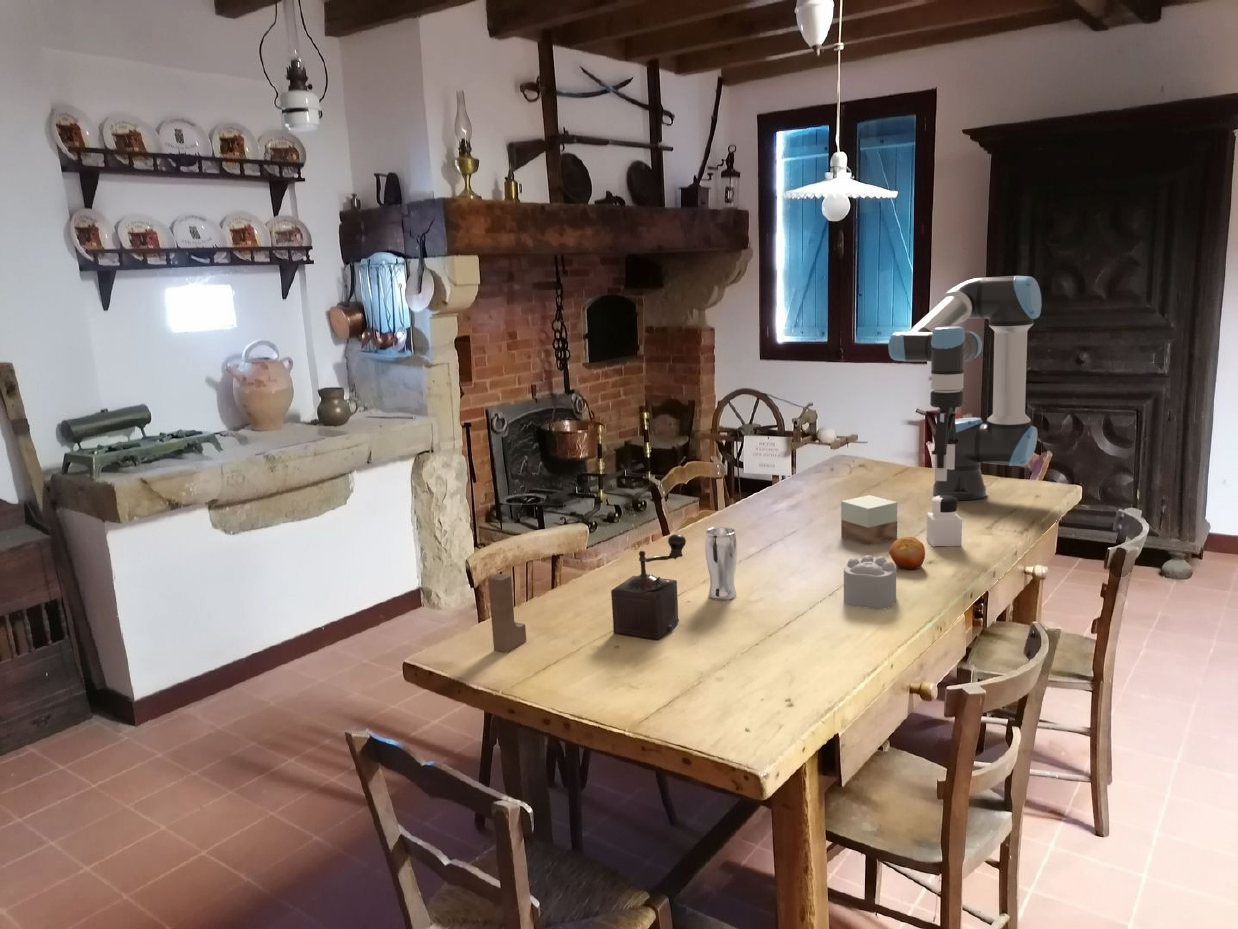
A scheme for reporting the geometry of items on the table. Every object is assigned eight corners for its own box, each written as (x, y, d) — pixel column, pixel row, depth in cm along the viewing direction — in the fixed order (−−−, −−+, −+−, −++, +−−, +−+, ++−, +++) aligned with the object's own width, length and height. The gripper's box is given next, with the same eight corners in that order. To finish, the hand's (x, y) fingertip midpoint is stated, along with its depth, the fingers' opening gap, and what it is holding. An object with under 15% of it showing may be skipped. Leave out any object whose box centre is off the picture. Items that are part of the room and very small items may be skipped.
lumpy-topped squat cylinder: (839, 605, 195) (839, 566, 193) (853, 585, 206) (853, 548, 205) (889, 611, 190) (890, 571, 189) (901, 590, 202) (901, 552, 200)
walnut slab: (869, 531, 248) (869, 513, 247) (897, 539, 239) (897, 520, 238) (841, 537, 243) (841, 519, 242) (868, 546, 235) (868, 527, 234)
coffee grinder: (661, 641, 181) (657, 554, 177) (612, 634, 186) (607, 549, 182) (692, 614, 194) (689, 532, 190) (646, 608, 199) (642, 528, 196)
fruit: (928, 555, 220) (926, 532, 215) (924, 580, 215) (922, 557, 210) (893, 552, 223) (890, 529, 218) (888, 577, 218) (886, 554, 213)
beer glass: (718, 603, 200) (716, 537, 196) (700, 594, 206) (698, 530, 203) (744, 597, 203) (742, 531, 200) (726, 588, 209) (724, 524, 206)
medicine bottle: (954, 538, 237) (955, 493, 234) (961, 546, 230) (963, 500, 227) (925, 539, 237) (926, 494, 235) (932, 547, 230) (933, 500, 228)
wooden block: (506, 653, 179) (500, 580, 176) (493, 650, 181) (487, 578, 178) (526, 641, 185) (521, 570, 181) (514, 638, 186) (508, 568, 183)
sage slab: (869, 513, 247) (869, 495, 246) (897, 520, 238) (897, 502, 237) (841, 519, 242) (841, 501, 241) (868, 527, 234) (868, 508, 233)
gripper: (938, 383, 238) (936, 463, 242) (922, 397, 216) (920, 484, 221) (969, 384, 235) (966, 465, 239) (955, 397, 213) (953, 486, 217)
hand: (944, 474), depth 230 cm, fingers open, 13 cm apart
